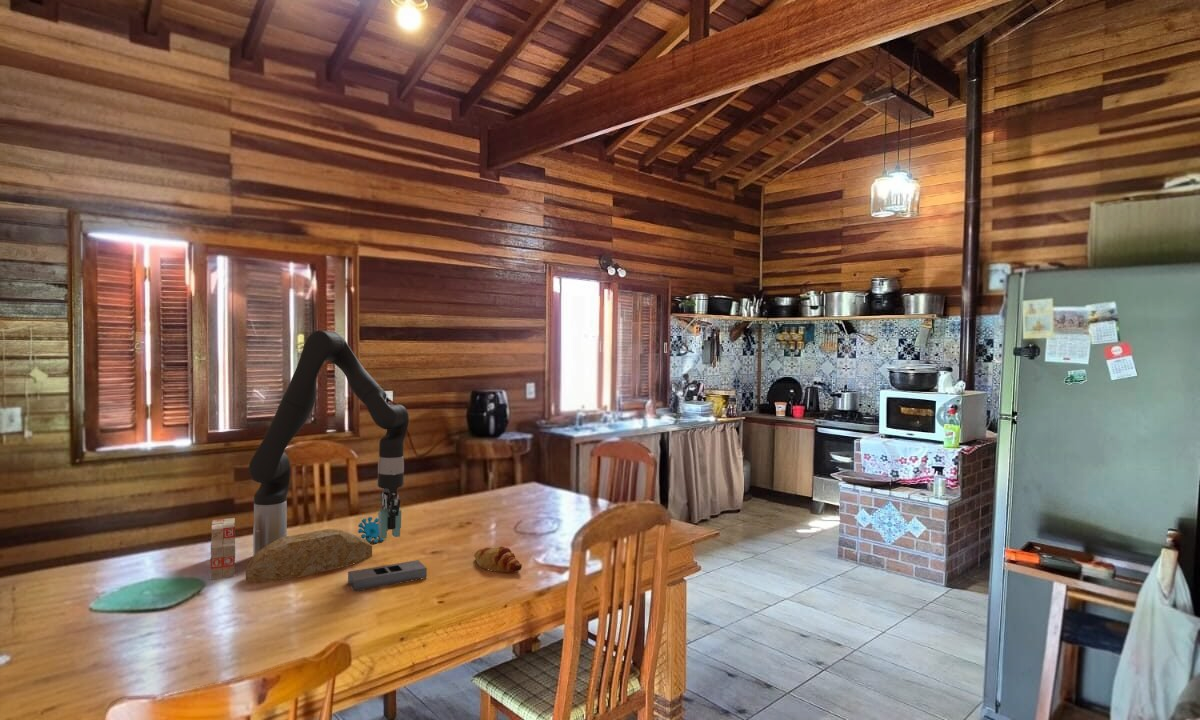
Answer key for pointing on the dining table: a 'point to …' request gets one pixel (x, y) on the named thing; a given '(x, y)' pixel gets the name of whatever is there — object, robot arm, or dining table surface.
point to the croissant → (497, 559)
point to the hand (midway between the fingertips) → (389, 527)
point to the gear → (370, 530)
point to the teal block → (384, 521)
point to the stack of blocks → (222, 548)
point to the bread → (306, 555)
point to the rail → (386, 575)
